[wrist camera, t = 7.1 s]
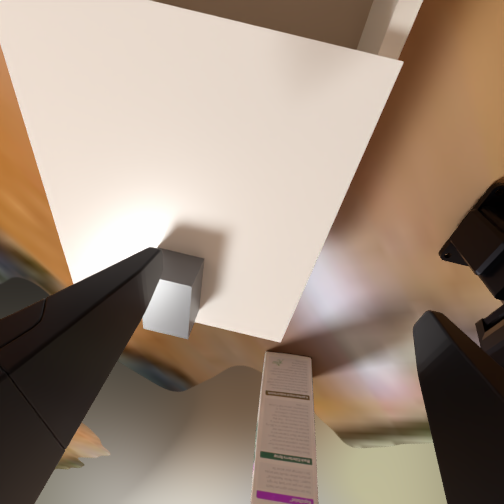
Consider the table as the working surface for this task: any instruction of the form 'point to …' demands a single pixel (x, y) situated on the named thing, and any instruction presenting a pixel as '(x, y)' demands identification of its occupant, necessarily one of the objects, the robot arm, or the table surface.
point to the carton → (323, 20)
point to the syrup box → (285, 433)
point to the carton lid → (192, 148)
